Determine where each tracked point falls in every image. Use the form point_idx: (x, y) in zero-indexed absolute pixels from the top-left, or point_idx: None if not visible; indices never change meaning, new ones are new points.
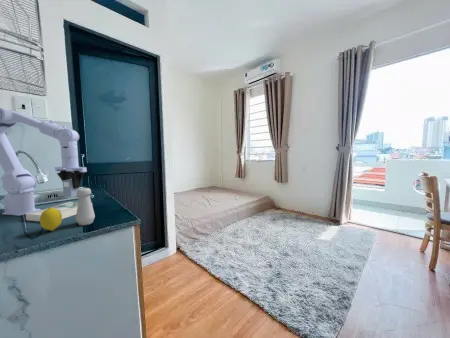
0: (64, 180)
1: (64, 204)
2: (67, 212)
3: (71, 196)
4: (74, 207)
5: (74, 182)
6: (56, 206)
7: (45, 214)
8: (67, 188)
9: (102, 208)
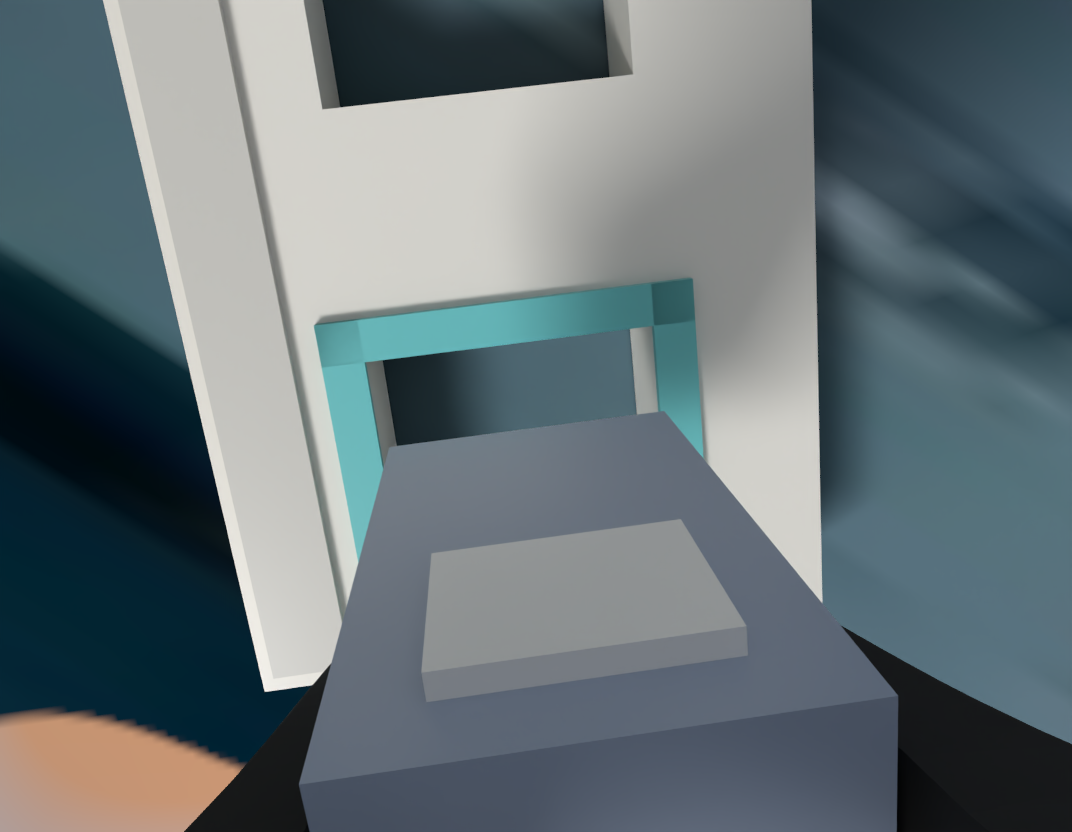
0: (760, 722)
1: (744, 434)
2: (140, 100)
3: (392, 455)
4: (241, 325)
5: (198, 825)
6: (748, 268)
7: None
8: (524, 531)
9: (126, 697)
